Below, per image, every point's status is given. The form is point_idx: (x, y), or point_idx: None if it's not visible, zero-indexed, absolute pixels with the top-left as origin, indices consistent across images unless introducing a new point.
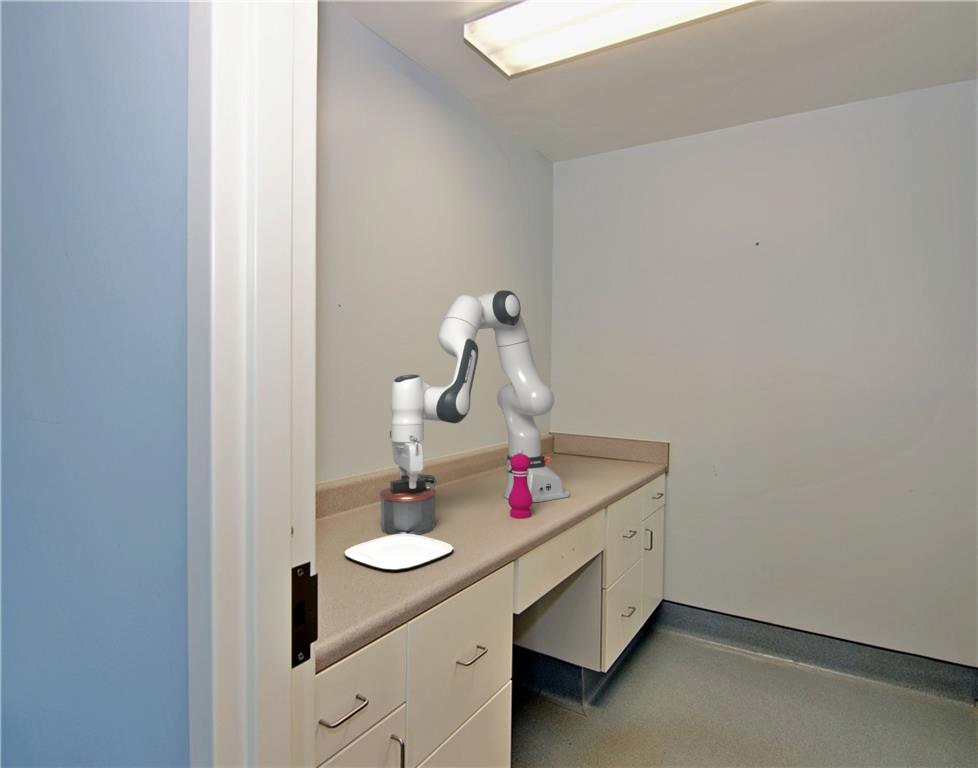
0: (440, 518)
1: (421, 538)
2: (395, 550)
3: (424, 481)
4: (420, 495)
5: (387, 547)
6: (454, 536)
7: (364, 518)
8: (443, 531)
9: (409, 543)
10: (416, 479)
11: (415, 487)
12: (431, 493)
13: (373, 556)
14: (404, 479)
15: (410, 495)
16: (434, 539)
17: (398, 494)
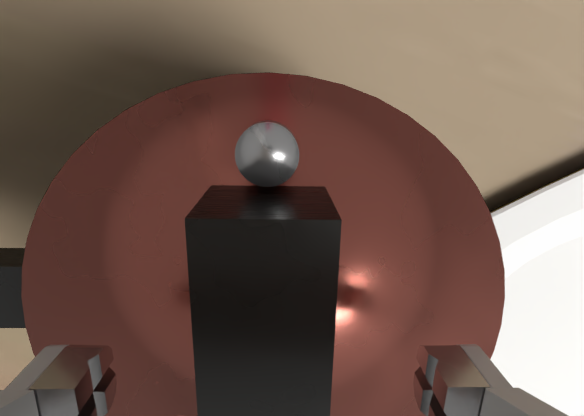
0: (142, 2)
1: (528, 233)
2: (555, 337)
3: (337, 226)
4: (467, 271)
5: (506, 354)
6: (503, 51)
7: (33, 358)
8: (397, 76)
9: (508, 275)
10: (556, 412)
11: (474, 348)
12: (445, 162)
13: (569, 408)
14: (97, 384)
15: (425, 340)
16: (570, 183)
17: (344, 406)
